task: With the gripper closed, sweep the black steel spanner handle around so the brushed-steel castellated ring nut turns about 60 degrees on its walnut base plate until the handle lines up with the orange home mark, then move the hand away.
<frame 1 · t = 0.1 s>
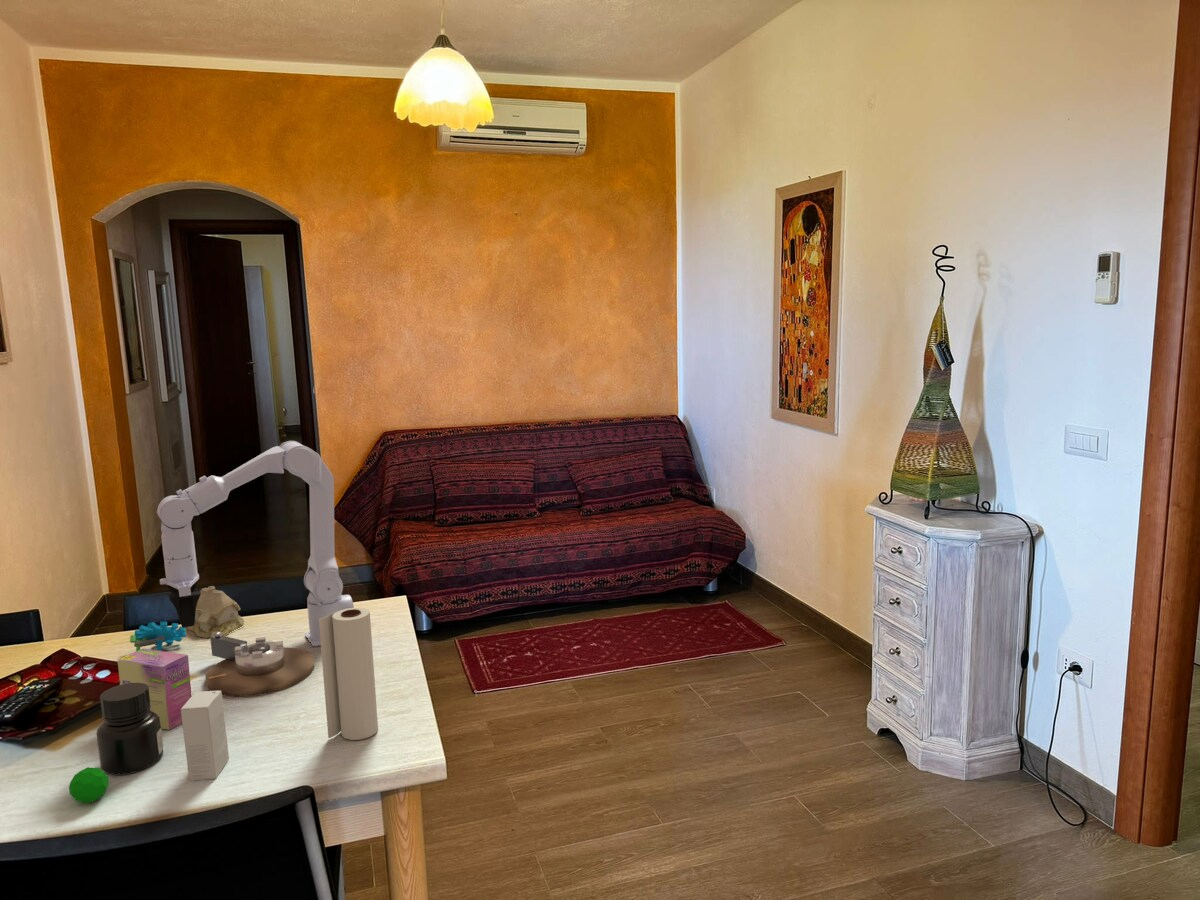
hand: (186, 620, 172), 10 cm above the table, tool pointing down, fingers open, 7 cm apart
polyhedron: (91, 801, 126), on the table
skincare box: (209, 771, 133), on the table
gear: (160, 651, 183), on the table
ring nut: (244, 650, 171), point 4 cm above the table, hinge at 0.0°
paper towel roll: (356, 733, 145), on the table
nut base plate: (261, 674, 169), on the table
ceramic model: (215, 629, 196), on the table
box: (159, 720, 151), on the table
ink bottle: (133, 762, 137), on the table
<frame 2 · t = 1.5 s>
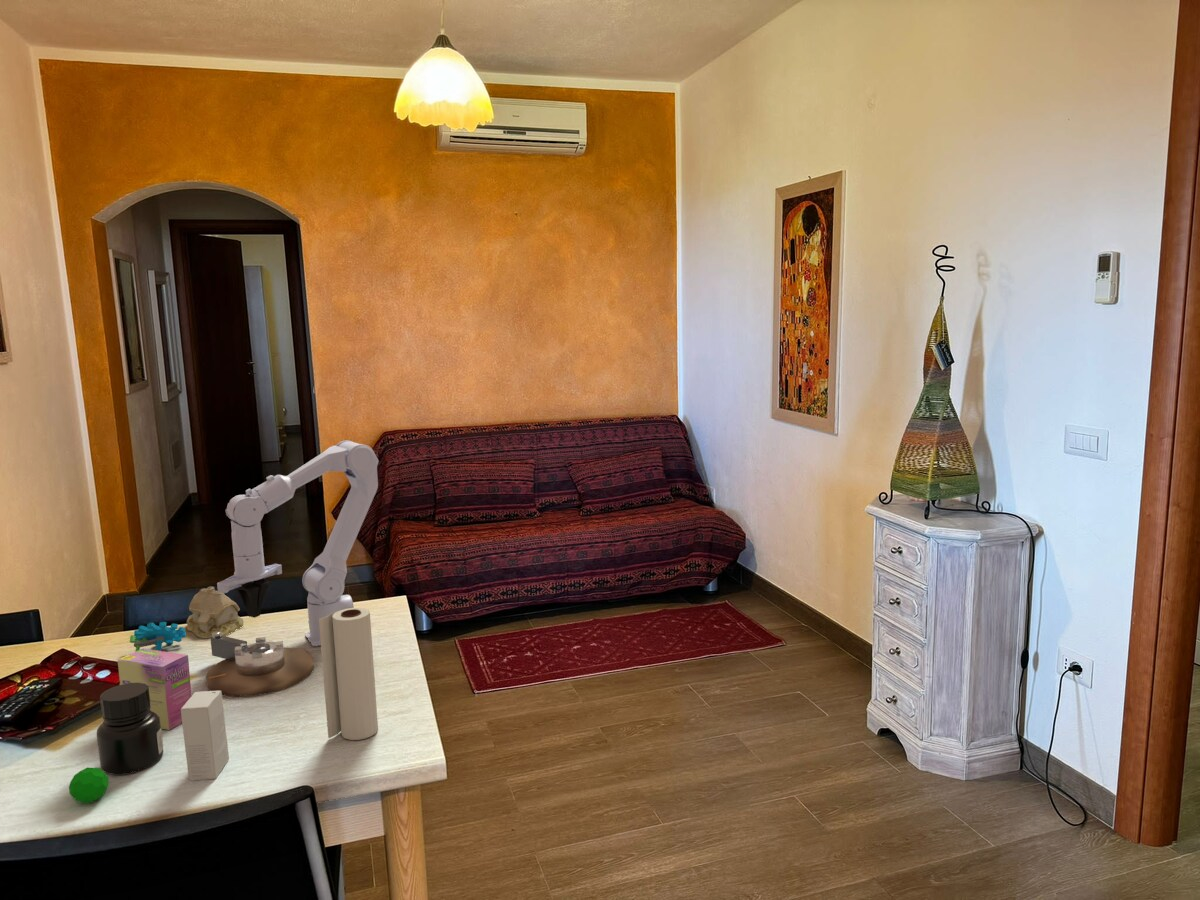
hand: (254, 616, 177), 9 cm above the table, tool pointing down, fingers closed
nothing on the table moved.
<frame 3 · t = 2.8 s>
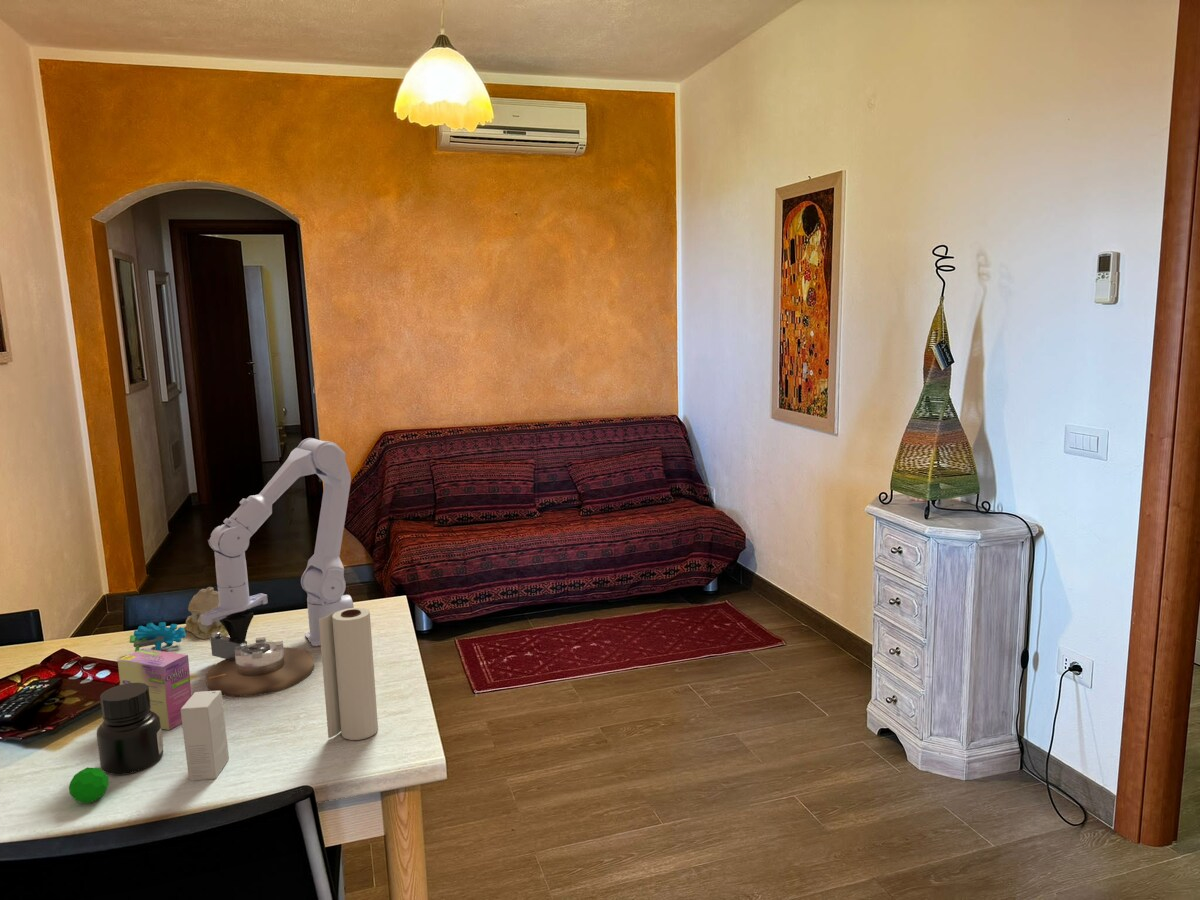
hand: (238, 647, 174), 3 cm above the table, tool pointing down, fingers closed
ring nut: (244, 650, 171), point 4 cm above the table, hinge at 0.0°, touching gripper
everything else where it was.
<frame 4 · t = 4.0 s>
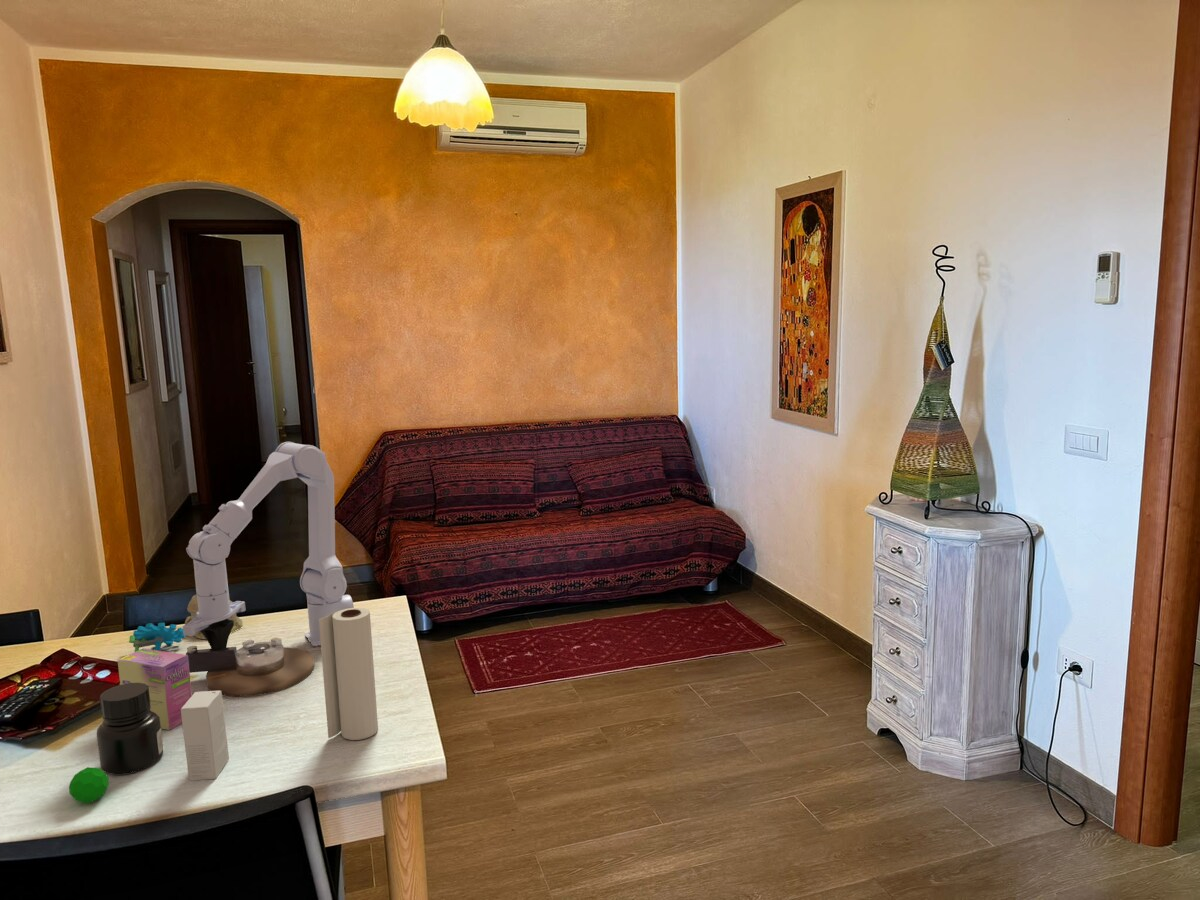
hand: (219, 657, 170), 3 cm above the table, tool pointing down, fingers closed
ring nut: (236, 656, 168), point 4 cm above the table, hinge at 36.8°, touching gripper
everything else where it was.
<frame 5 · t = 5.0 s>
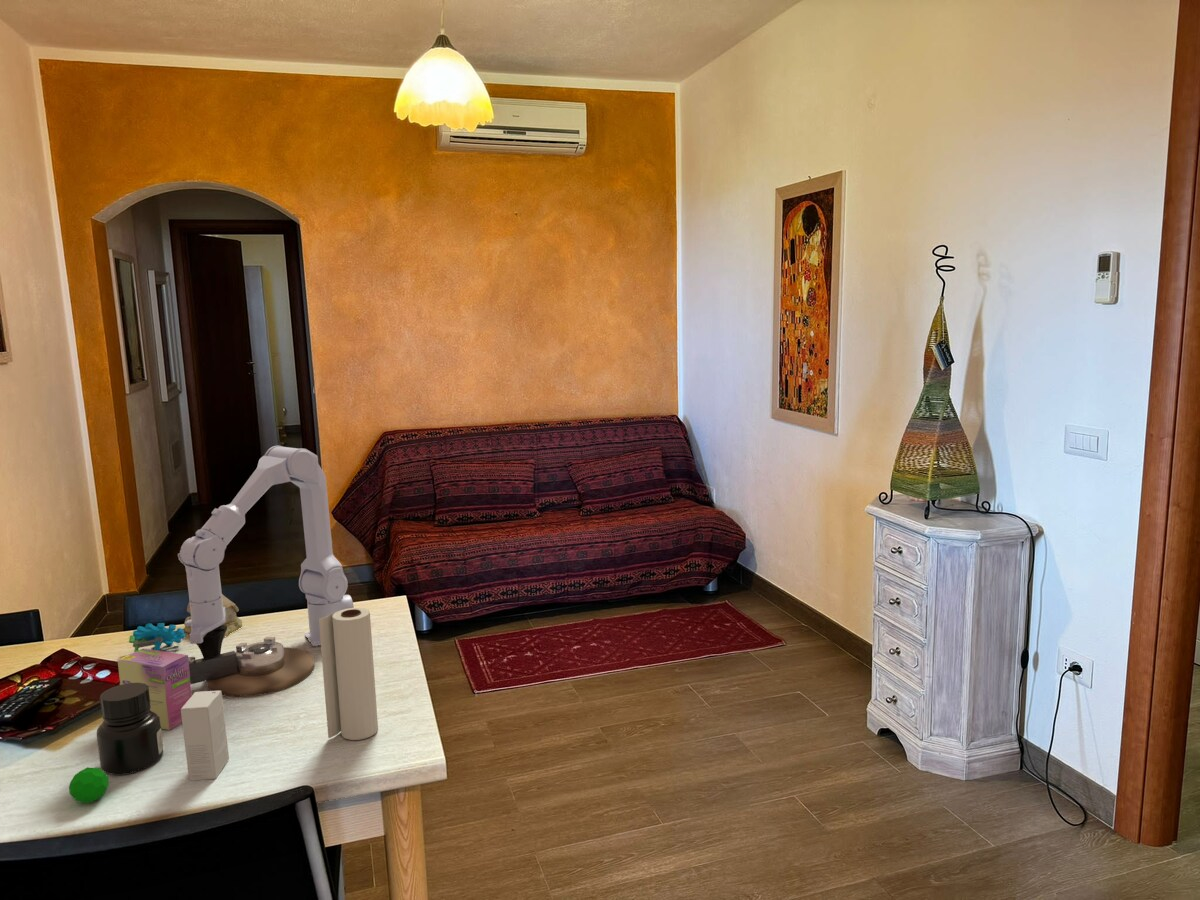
hand: (212, 664, 166), 3 cm above the table, tool pointing down, fingers closed
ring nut: (235, 660, 166), point 4 cm above the table, hinge at 63.9°, touching gripper
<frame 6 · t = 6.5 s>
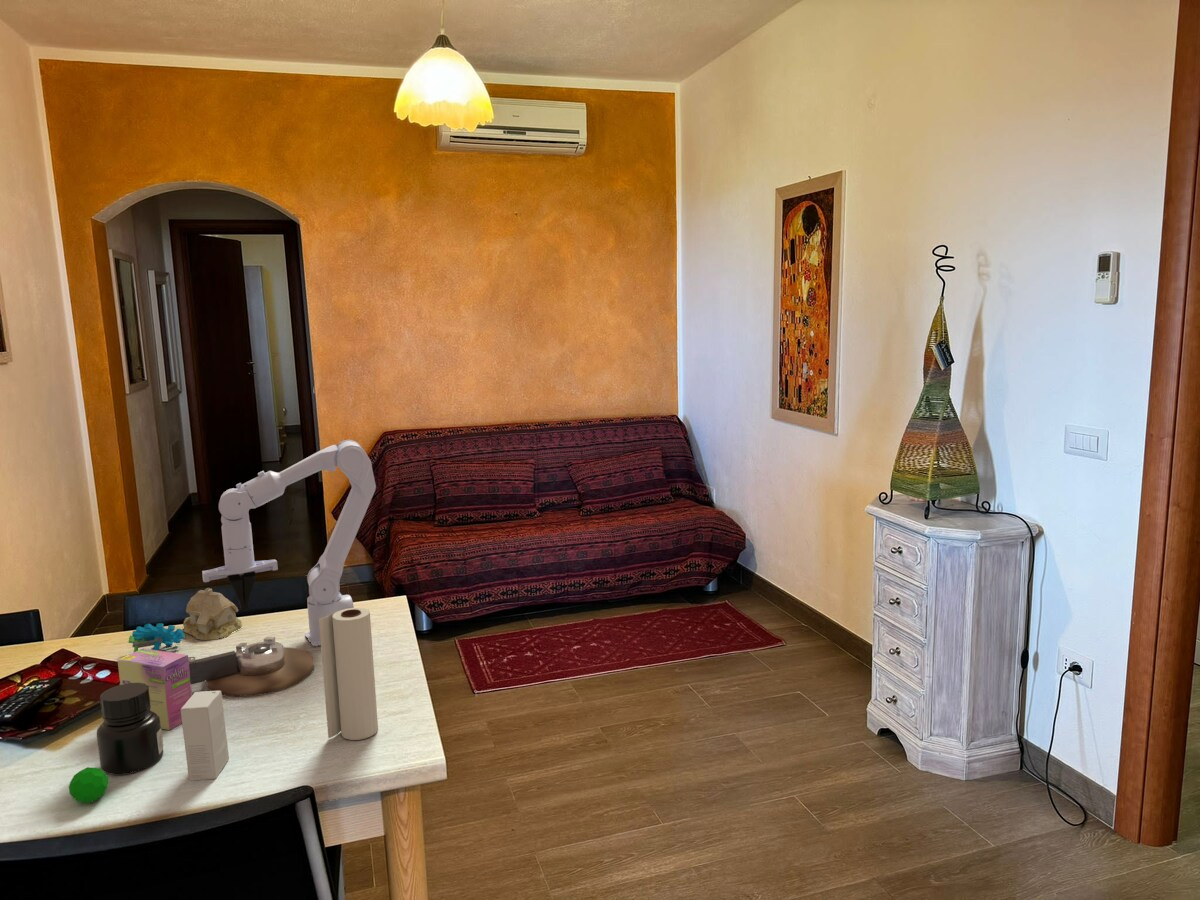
hand: (244, 607, 180), 9 cm above the table, tool pointing down, fingers closed
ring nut: (235, 660, 166), point 4 cm above the table, hinge at 64.0°
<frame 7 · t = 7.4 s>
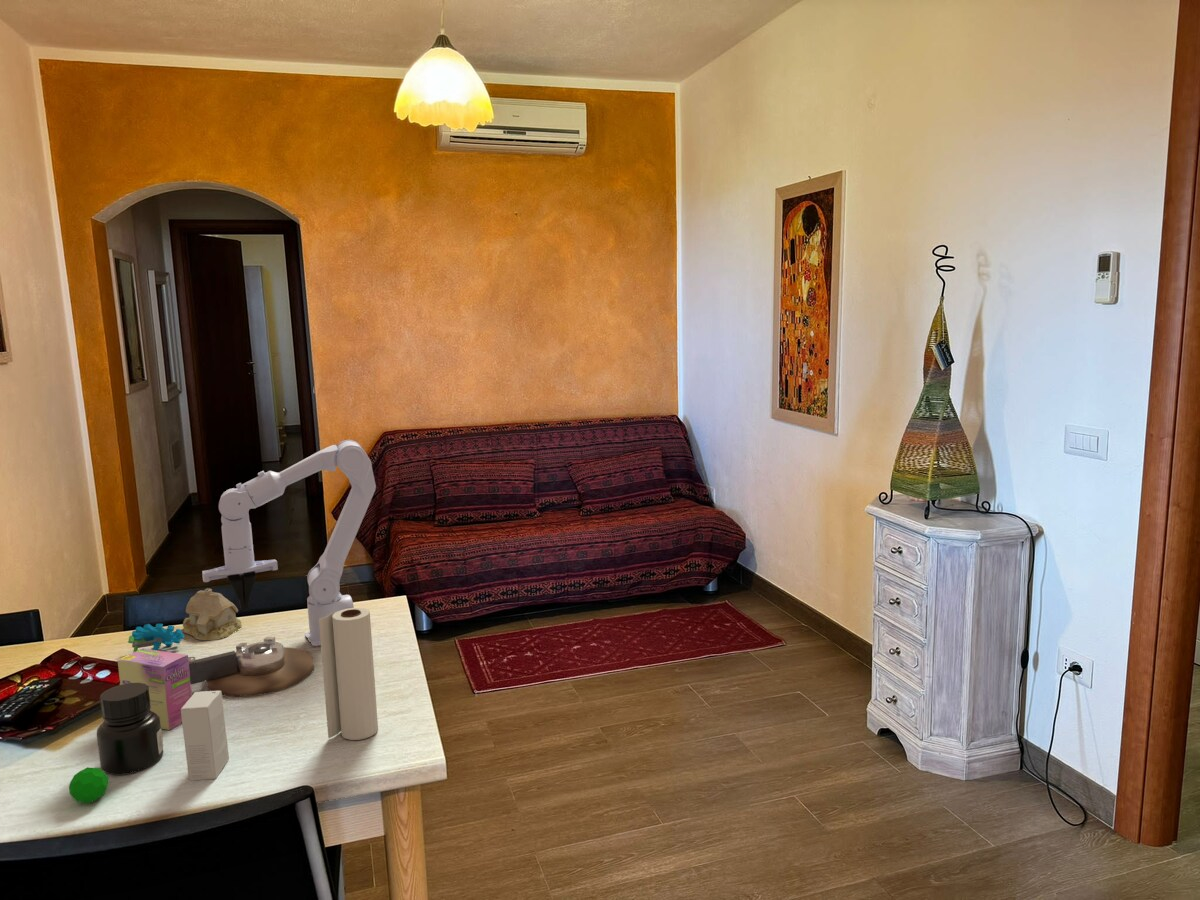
hand: (244, 607, 180), 9 cm above the table, tool pointing down, fingers closed
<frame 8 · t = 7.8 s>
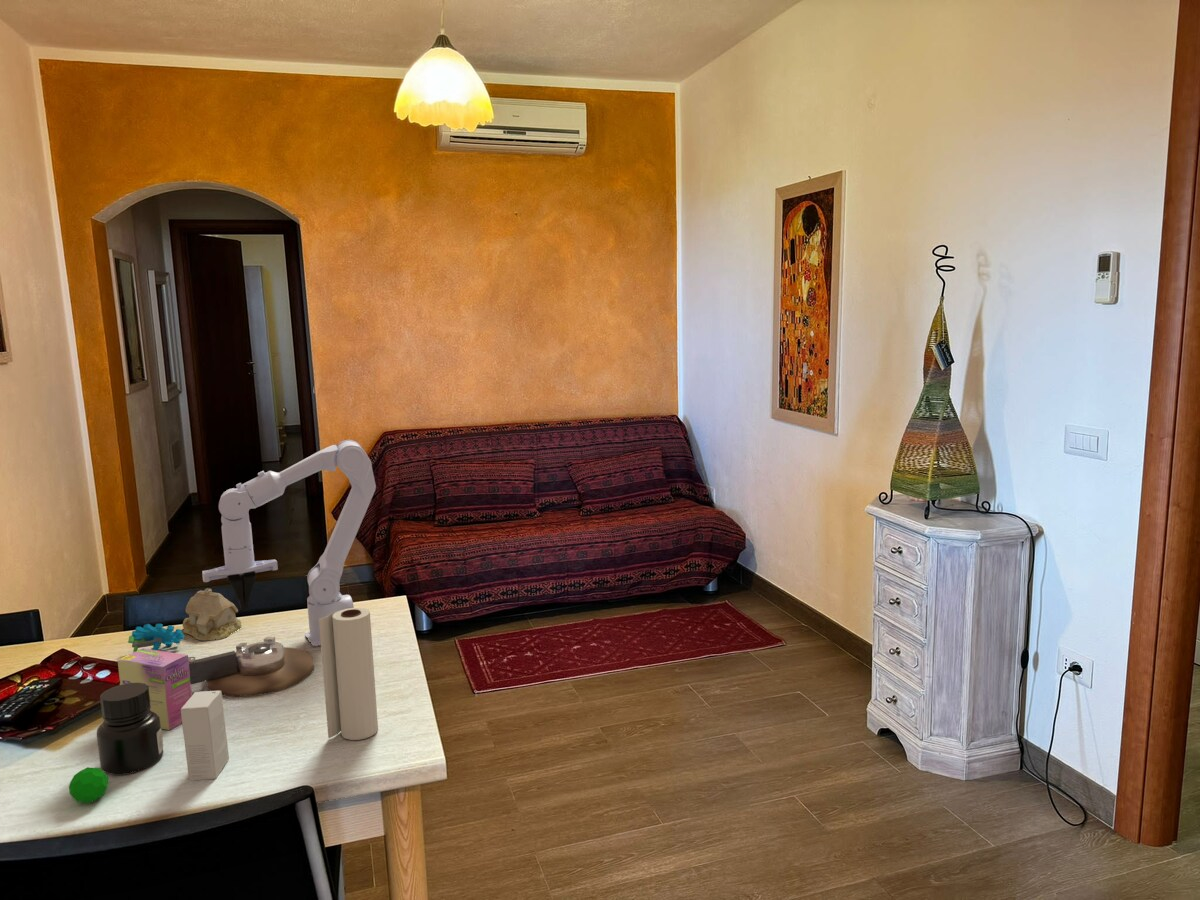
hand: (244, 607, 180), 9 cm above the table, tool pointing down, fingers closed
at the end: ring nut at +64° (first picture: +0°) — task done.
